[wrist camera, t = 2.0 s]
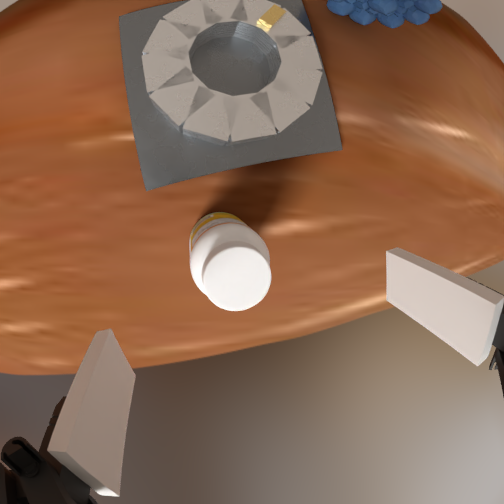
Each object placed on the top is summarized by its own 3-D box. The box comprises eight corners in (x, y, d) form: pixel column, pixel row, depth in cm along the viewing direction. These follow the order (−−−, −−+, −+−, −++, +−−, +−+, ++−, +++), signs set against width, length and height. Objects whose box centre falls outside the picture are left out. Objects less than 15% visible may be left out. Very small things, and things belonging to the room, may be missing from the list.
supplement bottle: (244, 271, 26) (274, 323, 17) (186, 267, 25) (187, 319, 16) (253, 214, 25) (291, 239, 16) (192, 207, 23) (195, 228, 14)
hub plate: (148, 190, 22) (138, 193, 18) (120, 21, 16) (111, -3, 12) (337, 150, 25) (364, 147, 20) (296, 0, 19) (313, -21, 15)
